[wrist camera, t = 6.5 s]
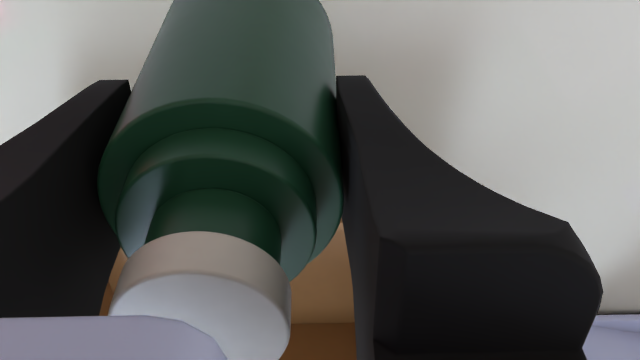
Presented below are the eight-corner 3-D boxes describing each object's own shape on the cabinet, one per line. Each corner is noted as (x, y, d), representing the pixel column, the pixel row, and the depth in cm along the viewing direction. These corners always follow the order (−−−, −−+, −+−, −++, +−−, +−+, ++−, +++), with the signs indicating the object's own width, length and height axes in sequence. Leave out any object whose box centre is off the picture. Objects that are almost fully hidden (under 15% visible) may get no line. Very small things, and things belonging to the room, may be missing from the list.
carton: (386, 145, 24) (399, 221, 20) (374, 320, 30) (382, 399, 27) (59, 151, 24) (17, 228, 20) (120, 325, 30) (96, 405, 27)
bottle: (333, -42, 14) (357, 216, 7) (332, 113, 17) (350, 414, 10) (151, -38, 14) (-9, 223, 7) (179, 116, 17) (84, 418, 10)
